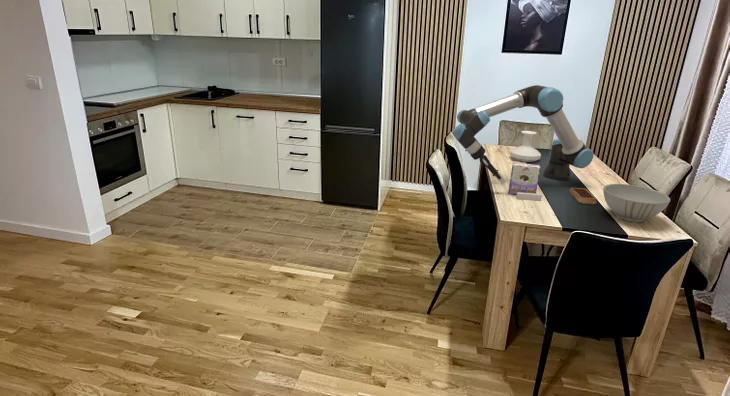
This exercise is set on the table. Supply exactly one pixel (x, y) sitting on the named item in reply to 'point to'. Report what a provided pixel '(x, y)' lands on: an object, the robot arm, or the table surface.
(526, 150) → the candle holder
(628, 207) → the decorative bowl
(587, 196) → the tray
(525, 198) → the walled channel
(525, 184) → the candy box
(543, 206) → the table surface
